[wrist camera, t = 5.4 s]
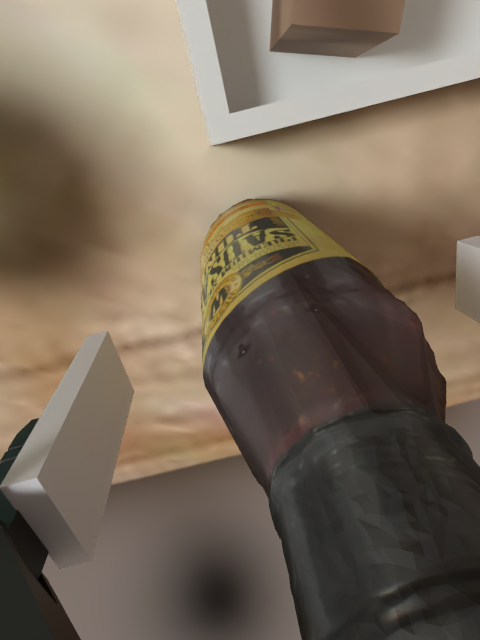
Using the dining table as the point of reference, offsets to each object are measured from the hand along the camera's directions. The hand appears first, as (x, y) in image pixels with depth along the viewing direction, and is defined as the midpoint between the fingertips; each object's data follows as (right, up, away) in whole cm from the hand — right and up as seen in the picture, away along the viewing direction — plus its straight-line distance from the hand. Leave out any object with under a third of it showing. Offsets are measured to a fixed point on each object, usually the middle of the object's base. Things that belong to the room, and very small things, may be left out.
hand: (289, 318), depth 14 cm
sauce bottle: (-1, +4, +8) cm, 9 cm away
